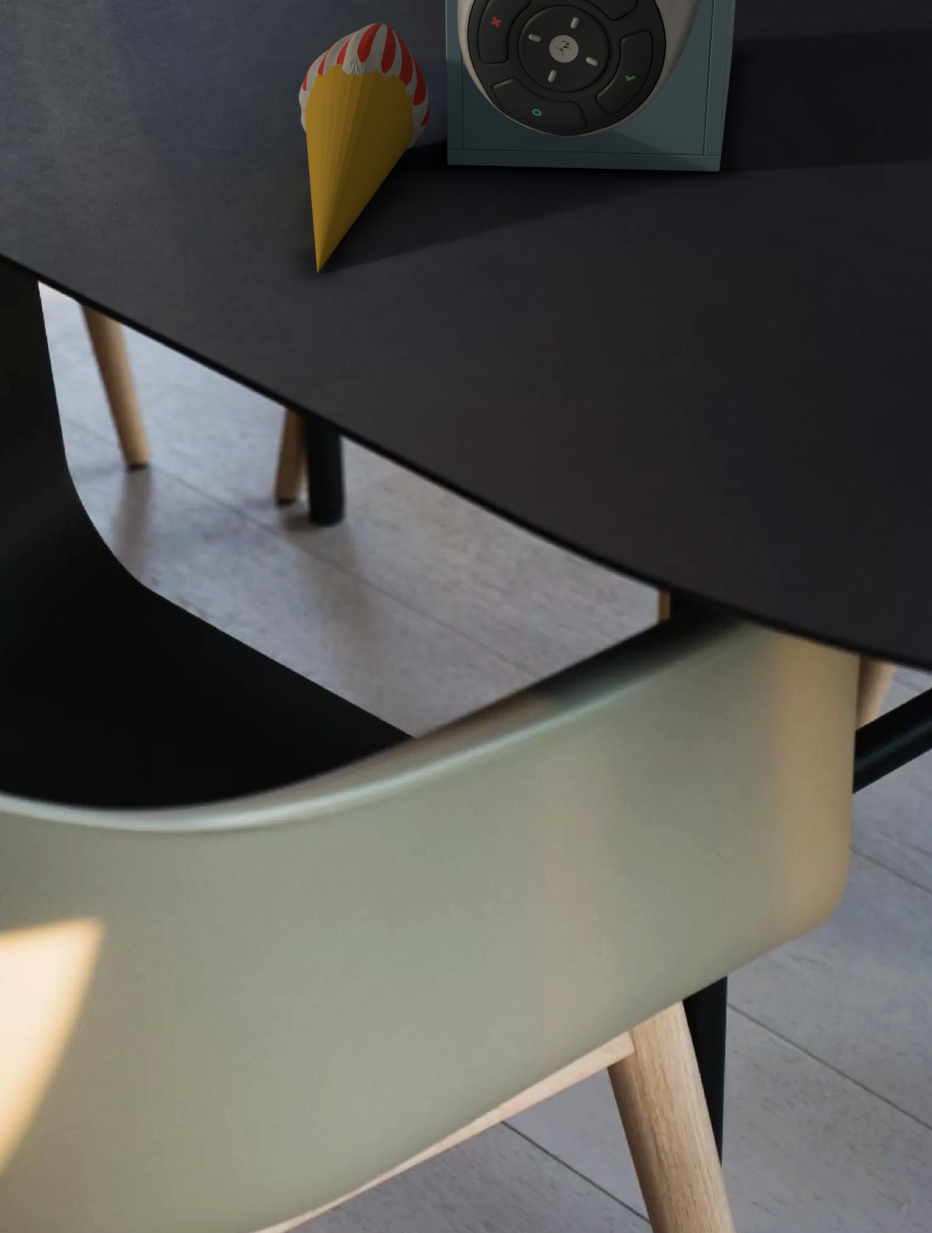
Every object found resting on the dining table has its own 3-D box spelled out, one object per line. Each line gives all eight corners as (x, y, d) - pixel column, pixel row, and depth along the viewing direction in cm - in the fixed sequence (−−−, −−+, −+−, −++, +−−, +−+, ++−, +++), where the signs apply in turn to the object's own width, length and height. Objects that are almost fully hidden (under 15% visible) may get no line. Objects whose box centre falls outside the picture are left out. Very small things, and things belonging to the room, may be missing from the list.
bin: (731, 58, 120) (743, -111, 115) (719, 171, 109) (731, -11, 103) (485, 54, 122) (485, -113, 117) (447, 164, 111) (445, -15, 105)
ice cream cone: (305, 347, 106) (372, 98, 117) (409, 293, 102) (468, 41, 113) (222, 256, 102) (300, 9, 113) (327, 196, 98) (396, -53, 110)
